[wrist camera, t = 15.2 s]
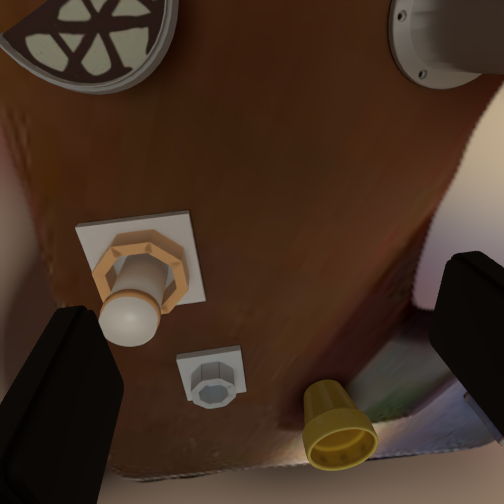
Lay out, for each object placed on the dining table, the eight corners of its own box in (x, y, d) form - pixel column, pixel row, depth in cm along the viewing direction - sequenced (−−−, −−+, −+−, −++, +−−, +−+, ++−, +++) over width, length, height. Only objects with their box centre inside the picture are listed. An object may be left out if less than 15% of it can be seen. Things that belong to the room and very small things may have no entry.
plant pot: (311, 364, 52) (331, 423, 44) (364, 377, 55) (393, 434, 47) (281, 406, 57) (294, 467, 48) (332, 416, 60) (353, 475, 51)
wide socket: (188, 210, 37) (187, 225, 34) (205, 296, 43) (205, 316, 40) (78, 223, 36) (64, 240, 33) (110, 309, 43) (102, 331, 39)
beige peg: (163, 244, 38) (149, 297, 29) (174, 283, 40) (164, 342, 32) (116, 251, 38) (88, 307, 29) (129, 289, 40) (107, 351, 31)
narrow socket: (239, 345, 48) (242, 367, 45) (245, 386, 53) (248, 409, 49) (177, 354, 48) (174, 377, 44) (188, 395, 52) (187, 418, 49)
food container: (99, 112, 31) (60, 133, 23) (49, 44, 28) (-19, 38, 20) (212, 39, 30) (216, 31, 21) (171, -43, 27) (155, -90, 18)
